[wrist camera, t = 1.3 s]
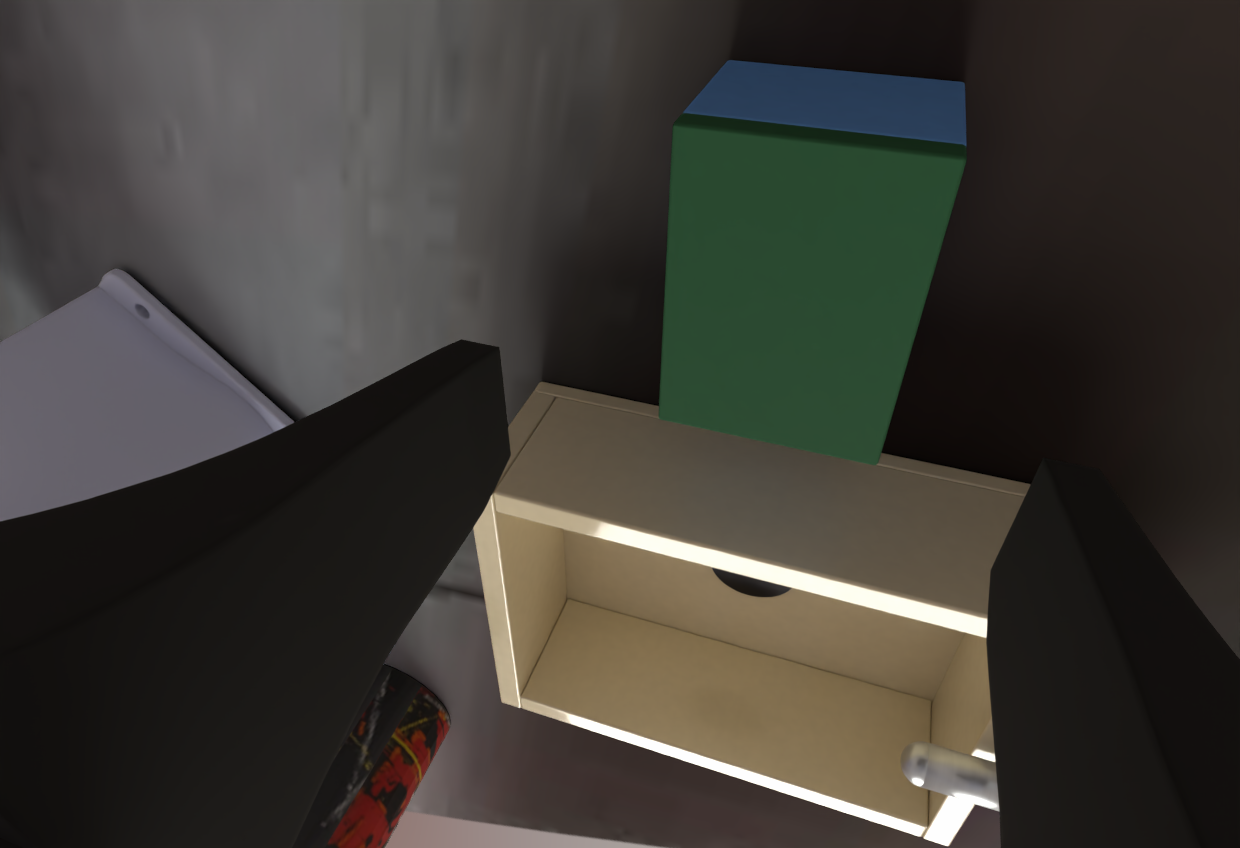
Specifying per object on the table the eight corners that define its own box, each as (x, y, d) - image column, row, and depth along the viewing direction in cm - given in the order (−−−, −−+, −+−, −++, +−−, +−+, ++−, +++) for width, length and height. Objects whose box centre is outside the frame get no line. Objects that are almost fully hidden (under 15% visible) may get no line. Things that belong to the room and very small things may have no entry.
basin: (555, 593, 28) (500, 702, 24) (540, 380, 22) (465, 485, 18) (950, 704, 24) (948, 847, 21) (1058, 489, 19) (1080, 640, 15)
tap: (710, 569, 24) (649, 764, 19) (717, 510, 23) (652, 707, 18) (1109, 672, 22) (1153, 929, 17) (1150, 614, 20) (1213, 880, 15)
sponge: (890, 356, 18) (877, 467, 15) (704, 322, 19) (657, 420, 16) (965, 80, 14) (967, 157, 11) (727, 59, 15) (671, 122, 12)
